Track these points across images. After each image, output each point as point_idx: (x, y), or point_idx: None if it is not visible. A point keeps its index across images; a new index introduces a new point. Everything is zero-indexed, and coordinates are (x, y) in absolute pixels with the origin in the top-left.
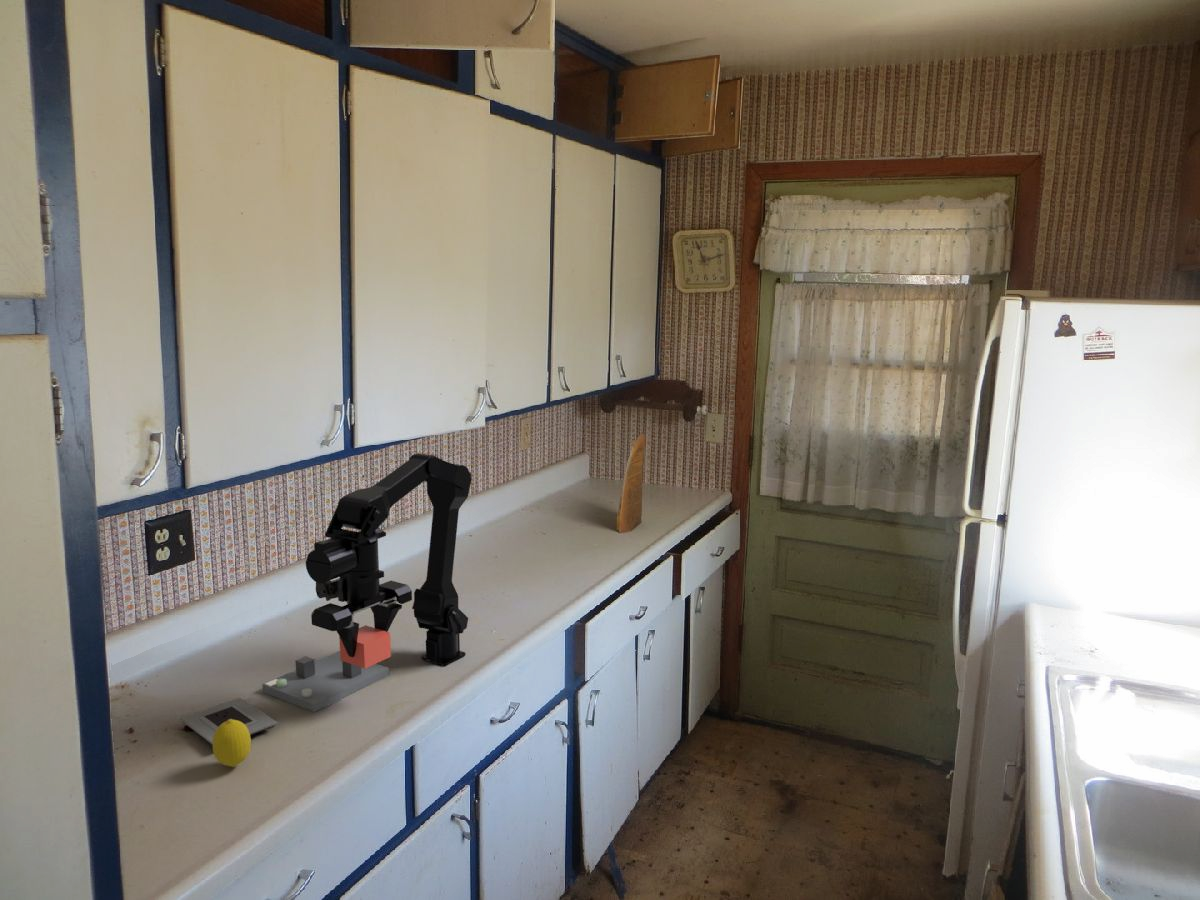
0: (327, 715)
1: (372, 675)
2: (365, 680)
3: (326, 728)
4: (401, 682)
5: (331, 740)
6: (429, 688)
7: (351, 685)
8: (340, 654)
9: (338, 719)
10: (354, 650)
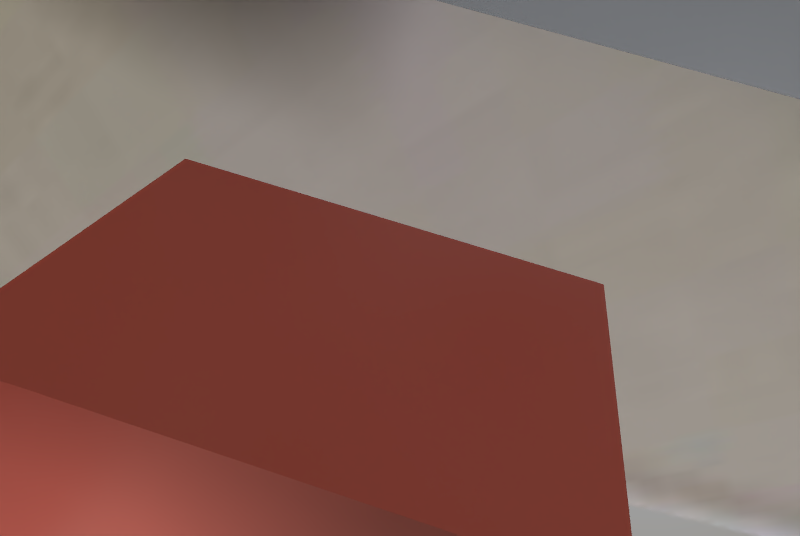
0: (195, 40)
1: (748, 81)
2: (659, 59)
3: (96, 126)
4: (773, 254)
5: (43, 213)
6: (704, 422)
7: (514, 16)
8: (142, 195)
9: (196, 132)
10: None
